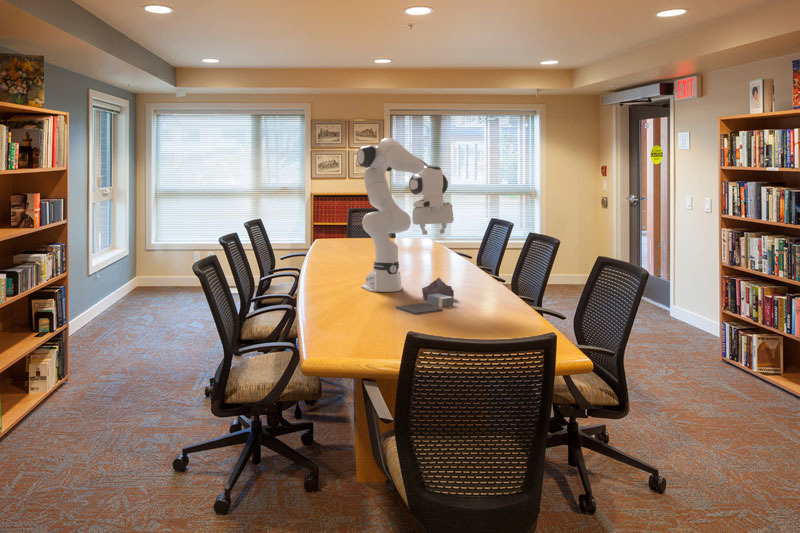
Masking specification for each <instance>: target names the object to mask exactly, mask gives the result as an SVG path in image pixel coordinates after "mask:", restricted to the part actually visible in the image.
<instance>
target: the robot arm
mask: <svg viewBox="0 0 800 533" xmlns="http://www.w3.org/2000/svg"><path fill="white" fill-rule="evenodd" d="M356 160H357V161H356V162H357V163H358V165H359V166H360V167H362V168H365V169H364V172H363V180H364V185H365V186H364V187H365V190H366V194H367V198H368V201H369V204H370V205H371V206H372V207H374V208H375V209H376V210H377V211H371V212H368V213H366V214H365V215H364V216H363V217H362V221H361V226H362V229H363V230H364V231H365V233H367V234H368V235H369V236H370V237H371V240H372V241H373V244H374V250H375V253H374V254H375V261H373V262H372V263H373V264H372V265H373V269H372V270H370V272H369V273H368V274H367V275H366V278H365V283H364V284H362V285H361V286H360V287H361V288H363V289H365V290H366V291H368V292H380V293H381V292H383V293H392V292H398V291H401V290H402V289H403V288H404V285H402V276H401V272H400V270H399V269H400V263H399V246H398V245H397V244H396V243H395V242H394V241H392V240H391V239H390V236H389V234H400V233H403V232H406V231H408V230H409V229H410V227H411V224H412V223H413V224H414V225H419V228H420V230H421V232H422V233H421V234H422V235H424V236H425V235H426V236H427V235H428V230H426V225H434V224H435V225H436V224H441V226H442V227H441V229H439V234H442V235H443V234H445V232H446V228H447V226H448V225H447V224H452V223H453V222H454V211H453V204H452V203H450V202H448V201H447V202H445V201H444V194H445V193H446V191H447V189H448V188H449V181H448V178H447V177H446V176H445V174H444V173H443V170H442V168H441V167H440V166H438V165H429V164H427V163H426V162H425V161H423V160H422V159H421V158H419V157H417V156H416V155H414V154H412V153H411V152H410V151H409V150H408V149H406V148H405V147H404V146H403V145H402V144H401V143H400V142H398V141H397V140H396V139H393V138H392V137H385V138H383V139H381V141H379V144H377V145H363V146H361V147H360V148H359V149H358V150H357V152H356ZM392 170H395V171H397V172H401V173H402V172H405V173H411V174H413V175H412V176H410V179H409V180H408V186H409V191H410V192H411V194H413V195H416V196H422V198H421V199H419V200H417V201H414V202H413V207H414V208H413V210H412V218H411V216H410V214H409V213H408V212H407V211H404V210H403V209H401V207H399V205H398V204H397V203H396V202H395V200H394V198H393V197H392V194H391V191H390V188H389V187H390V186H389V183H388V180H387V178H386V171H387V172H391V171H392ZM411 220H412V221H411Z"/></svg>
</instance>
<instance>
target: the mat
mask: <svg viewBox="0 0 800 533" xmlns="http://www.w3.org/2000/svg"><path fill="white" fill-rule="evenodd" d="M395 309H396V310H399V309H400V311H402V310H403V312H406V313H409V314H412V315H422V314H430V313H436V312H443V308H442V307H438V306H435V305H431V304H426V303H423V302H419V303H413V304H406V305H405V304H404V305H397V306H395Z"/></svg>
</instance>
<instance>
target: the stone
mask: <svg viewBox="0 0 800 533" xmlns="http://www.w3.org/2000/svg"><path fill="white" fill-rule="evenodd" d="M454 293H455V291H454V290H453V287H452V286H451V285H447V284H446V283H445V282H444V281H443V280H442V279H441V277H437V278H436V279H435V280H433V282H431V283H429V284H428V285H427V286H423V287H422V288H421V294H422V298H423V300H425V301H427V295H430V294H442V295H446V296H450V297H453V300H454V298H455V297H454V296H455V294H454Z"/></svg>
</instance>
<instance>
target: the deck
mask: <svg viewBox="0 0 800 533" xmlns="http://www.w3.org/2000/svg"><path fill="white" fill-rule="evenodd" d="M453 298H454V297H450V296H446V295H442V294H430V295H427V300H426V301H427V305H430V306H434V307H437V308H441V309H443V308H449V307H450V306H451V307H454V299H453ZM451 307H450V308H451Z"/></svg>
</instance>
